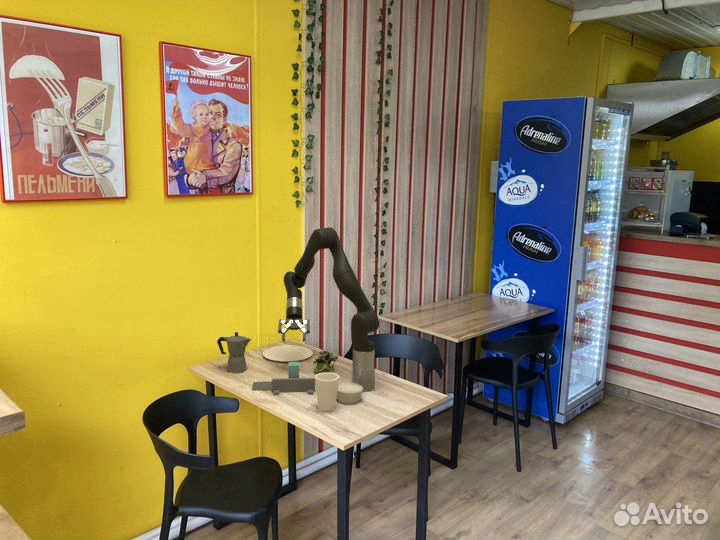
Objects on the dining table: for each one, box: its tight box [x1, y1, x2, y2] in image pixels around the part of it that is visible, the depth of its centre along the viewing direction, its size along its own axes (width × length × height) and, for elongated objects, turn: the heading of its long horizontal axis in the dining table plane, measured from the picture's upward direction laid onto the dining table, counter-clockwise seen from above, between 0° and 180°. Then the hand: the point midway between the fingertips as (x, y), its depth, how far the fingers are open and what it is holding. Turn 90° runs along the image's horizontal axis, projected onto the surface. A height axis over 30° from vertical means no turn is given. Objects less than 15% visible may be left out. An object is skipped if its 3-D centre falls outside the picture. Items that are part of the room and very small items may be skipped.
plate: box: [262, 345, 314, 363], centre depth 281 cm, size 25×25×2 cm
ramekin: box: [336, 382, 363, 405], centre depth 228 cm, size 11×11×5 cm
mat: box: [251, 381, 272, 392], centre depth 239 cm, size 9×9×1 cm
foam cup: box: [314, 371, 340, 413], centre depth 218 cm, size 10×9×13 cm
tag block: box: [287, 361, 300, 378], centre depth 240 cm, size 4×5×10 cm
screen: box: [271, 377, 316, 396], centre depth 233 cm, size 18×4×6 cm, turn 96°
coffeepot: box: [216, 331, 252, 374], centre depth 257 cm, size 15×9×18 cm, turn 92°
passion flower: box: [312, 350, 339, 374], centre depth 259 cm, size 11×11×12 cm
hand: (293, 341), depth 249 cm, fingers open, 8 cm apart
